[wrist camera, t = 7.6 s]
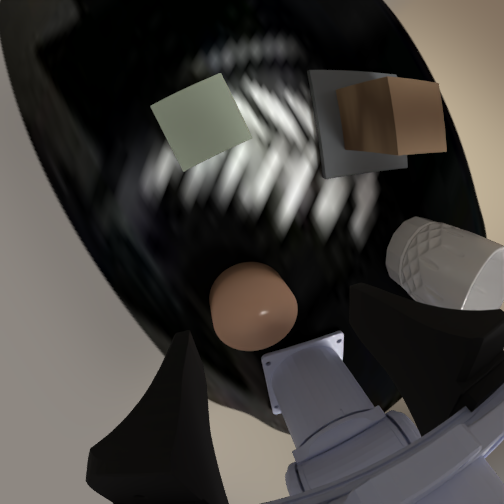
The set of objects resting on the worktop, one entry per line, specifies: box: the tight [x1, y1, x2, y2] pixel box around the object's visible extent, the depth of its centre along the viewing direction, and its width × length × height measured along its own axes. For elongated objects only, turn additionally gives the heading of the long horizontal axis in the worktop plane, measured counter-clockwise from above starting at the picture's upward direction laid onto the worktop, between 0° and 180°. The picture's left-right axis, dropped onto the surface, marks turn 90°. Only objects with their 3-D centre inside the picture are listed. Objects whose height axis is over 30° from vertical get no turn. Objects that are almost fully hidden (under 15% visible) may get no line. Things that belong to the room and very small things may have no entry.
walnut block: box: [336, 76, 447, 156], centre depth 16 cm, size 4×4×6 cm
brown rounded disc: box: [209, 262, 298, 351], centre depth 21 cm, size 6×6×3 cm
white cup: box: [386, 216, 504, 310], centre depth 20 cm, size 8×8×10 cm
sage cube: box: [150, 73, 252, 172], centre depth 15 cm, size 4×4×4 cm
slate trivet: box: [307, 70, 408, 179], centre depth 19 cm, size 8×8×1 cm
